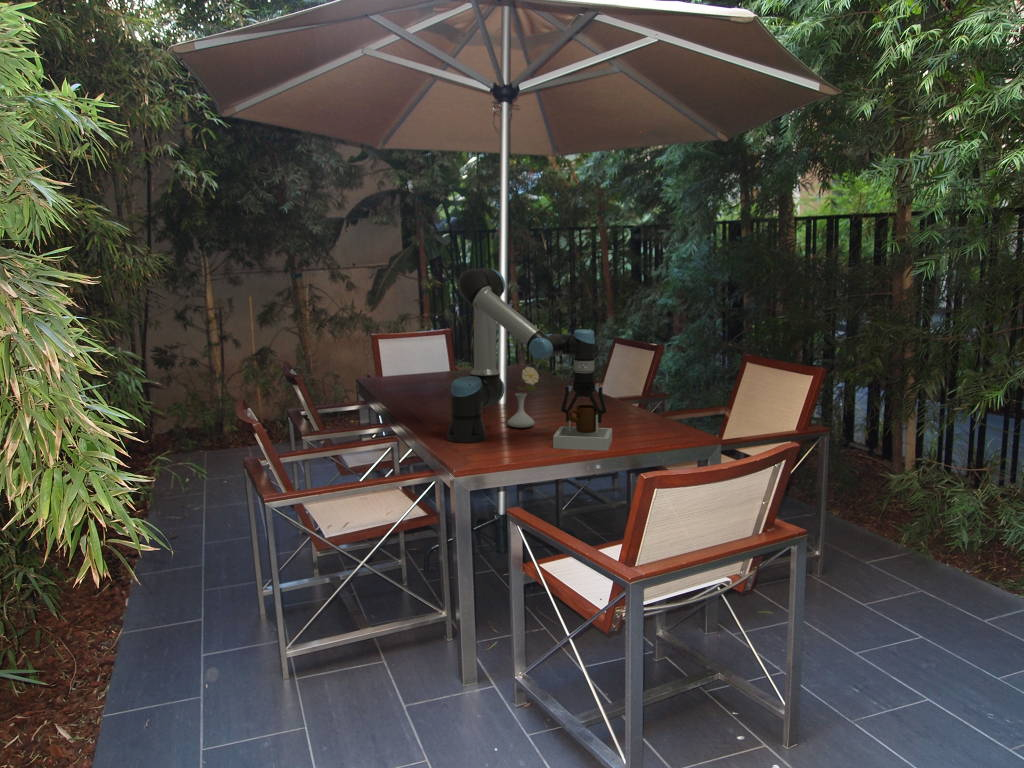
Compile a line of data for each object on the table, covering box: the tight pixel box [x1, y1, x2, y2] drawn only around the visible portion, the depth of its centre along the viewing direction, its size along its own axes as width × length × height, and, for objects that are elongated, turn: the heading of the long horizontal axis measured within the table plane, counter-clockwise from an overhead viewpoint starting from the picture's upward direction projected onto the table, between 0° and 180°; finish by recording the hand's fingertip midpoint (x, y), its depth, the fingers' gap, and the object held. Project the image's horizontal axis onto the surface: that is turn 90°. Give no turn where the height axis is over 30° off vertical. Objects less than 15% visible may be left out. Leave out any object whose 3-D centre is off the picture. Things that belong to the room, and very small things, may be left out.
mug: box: [568, 404, 598, 433], centre depth 299 cm, size 12×8×9 cm, turn 118°
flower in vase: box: [507, 366, 540, 429], centre depth 330 cm, size 13×11×25 cm
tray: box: [552, 425, 613, 452], centre depth 300 cm, size 20×18×4 cm
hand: (583, 431), depth 300 cm, fingers closed on mug, 9 cm apart
